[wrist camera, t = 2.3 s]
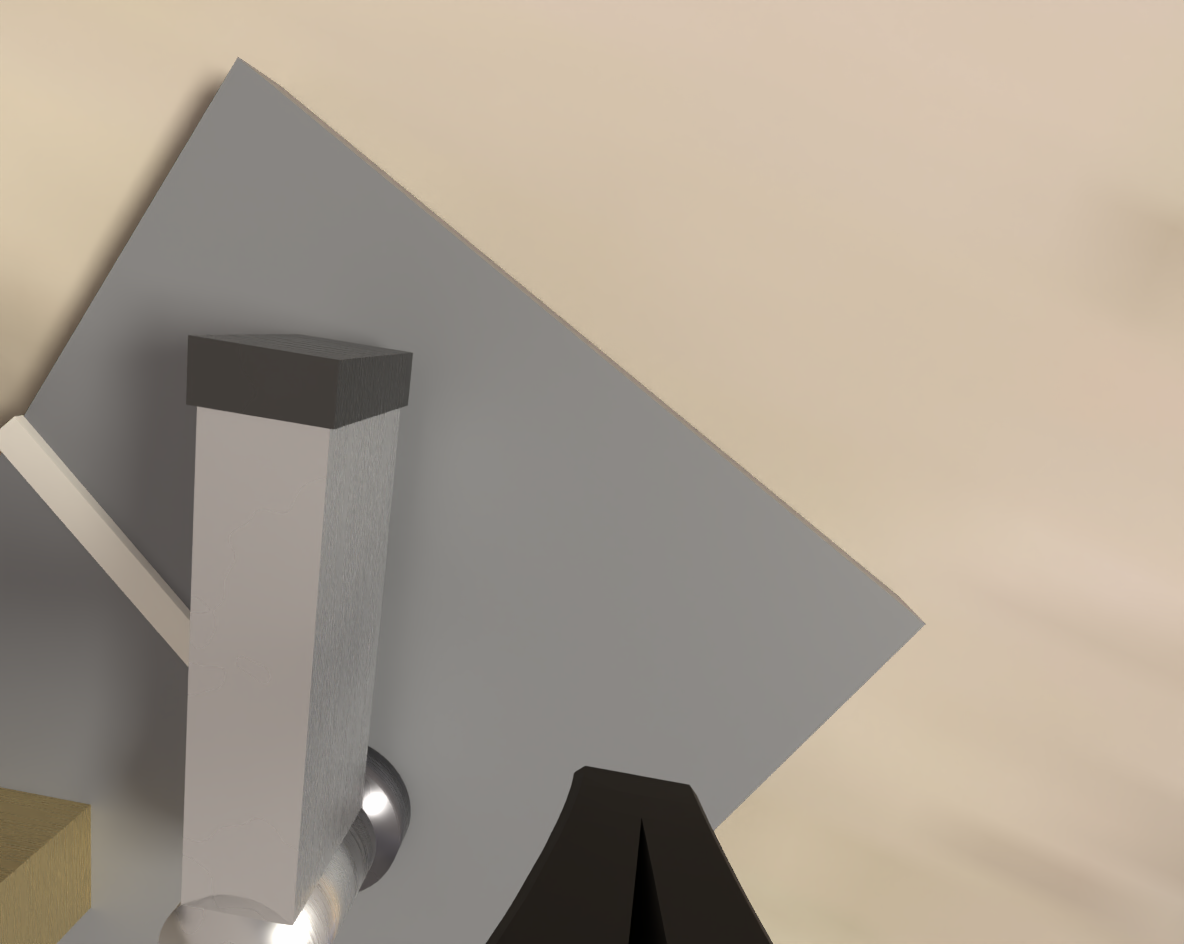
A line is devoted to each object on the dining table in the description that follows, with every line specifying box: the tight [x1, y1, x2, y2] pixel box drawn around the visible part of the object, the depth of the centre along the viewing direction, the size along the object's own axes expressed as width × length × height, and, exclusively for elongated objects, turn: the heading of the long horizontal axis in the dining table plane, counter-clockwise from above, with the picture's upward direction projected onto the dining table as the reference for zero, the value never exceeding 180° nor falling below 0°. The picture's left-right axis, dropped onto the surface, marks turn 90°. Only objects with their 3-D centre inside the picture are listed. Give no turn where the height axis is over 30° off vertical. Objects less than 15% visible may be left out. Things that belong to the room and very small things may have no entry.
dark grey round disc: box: [358, 746, 411, 892], centre depth 16 cm, size 4×4×1 cm
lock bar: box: [158, 334, 413, 944], centre depth 12 cm, size 12×3×3 cm, turn 171°
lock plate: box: [0, 57, 925, 944], centre depth 16 cm, size 18×22×2 cm
